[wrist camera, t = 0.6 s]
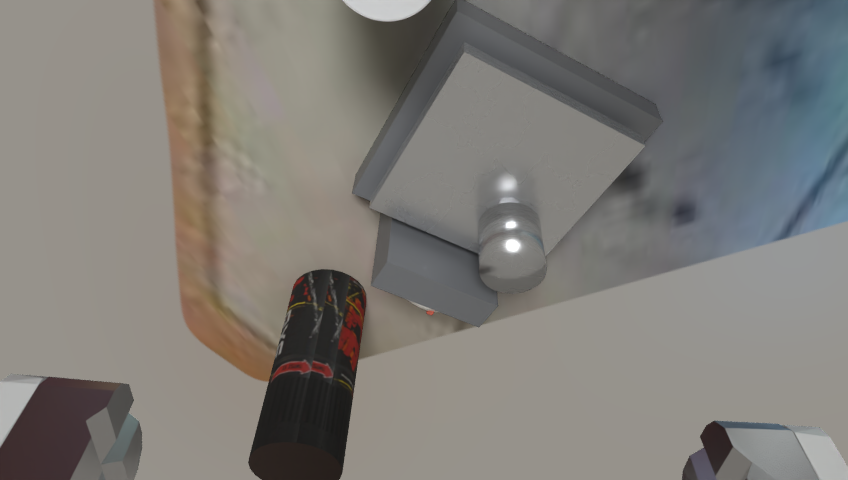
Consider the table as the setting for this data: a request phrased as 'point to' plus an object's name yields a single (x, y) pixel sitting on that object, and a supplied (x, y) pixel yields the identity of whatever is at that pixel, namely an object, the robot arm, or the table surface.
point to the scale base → (397, 241)
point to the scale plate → (501, 154)
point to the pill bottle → (386, 8)
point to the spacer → (511, 248)
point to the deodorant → (311, 381)
